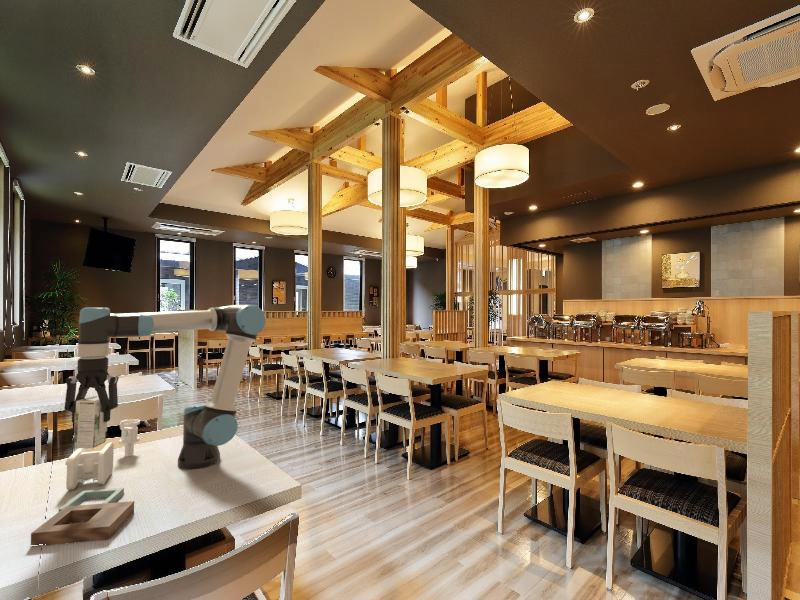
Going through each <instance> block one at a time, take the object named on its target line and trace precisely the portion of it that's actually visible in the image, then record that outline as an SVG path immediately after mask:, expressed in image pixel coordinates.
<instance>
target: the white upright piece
mask: <svg viewBox="0 0 800 600" xmlns="http://www.w3.org/2000/svg"><path fill="white" fill-rule="evenodd" d="M140 424H141V420H140V419H124V420H120V422H119V430H121V438H120V439H119V440H118V441H119V442H118V444H119V445H121V446H122V445H124V457H131V456H134V455H135V454H134V448H135V444H136V443H138V442H140V441H141V439H140V436H138V430H139V429H138V428H139V427H138V425H140ZM133 454H134V455H133Z"/></svg>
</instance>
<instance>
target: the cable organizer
mask: <svg viewBox="0 0 800 600" xmlns="http://www.w3.org/2000/svg"><path fill="white" fill-rule="evenodd" d="M65 466H66V483H65V484H66V485H65V488H66V490H68V491H69V490H74V489H76V487H77V486H79V484H80V483H82V484H84V482H85V481H84V480H92V482H95V481H97V484H98V485H102V486H104V485H105V483H106V482H107V480H108V478H109V477H110V475H111V474H112V472H113V471H114V470H113V469H114V442H113V441H112V442H108V443H106V445H105V446H103V448H102V449H101V450H95V451H88V448H76V450H74V452H72V454H71V455H69V457H68V458H67V459H66V460H65Z"/></svg>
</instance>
